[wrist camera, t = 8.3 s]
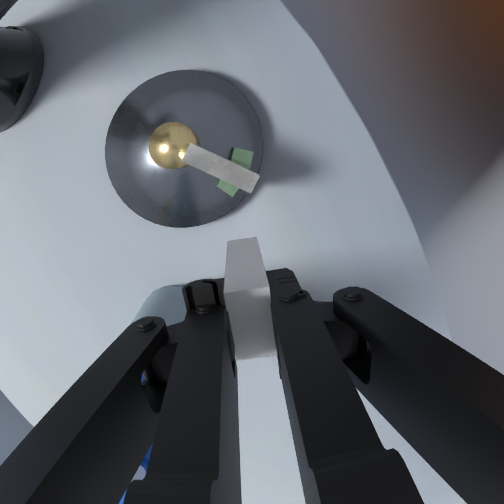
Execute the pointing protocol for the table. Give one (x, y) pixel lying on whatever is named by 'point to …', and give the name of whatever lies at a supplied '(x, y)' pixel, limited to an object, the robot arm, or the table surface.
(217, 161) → the needle dial
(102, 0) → the table surface
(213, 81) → the gauge plate
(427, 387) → the robot arm
